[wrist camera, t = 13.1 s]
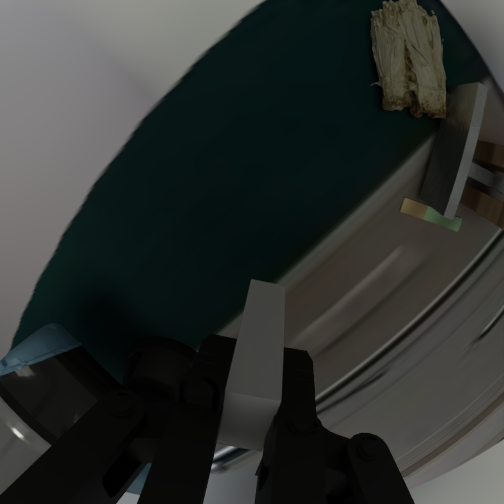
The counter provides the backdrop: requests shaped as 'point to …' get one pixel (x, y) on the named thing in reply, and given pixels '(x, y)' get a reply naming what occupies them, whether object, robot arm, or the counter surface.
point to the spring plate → (457, 151)
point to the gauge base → (467, 194)
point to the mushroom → (409, 58)
